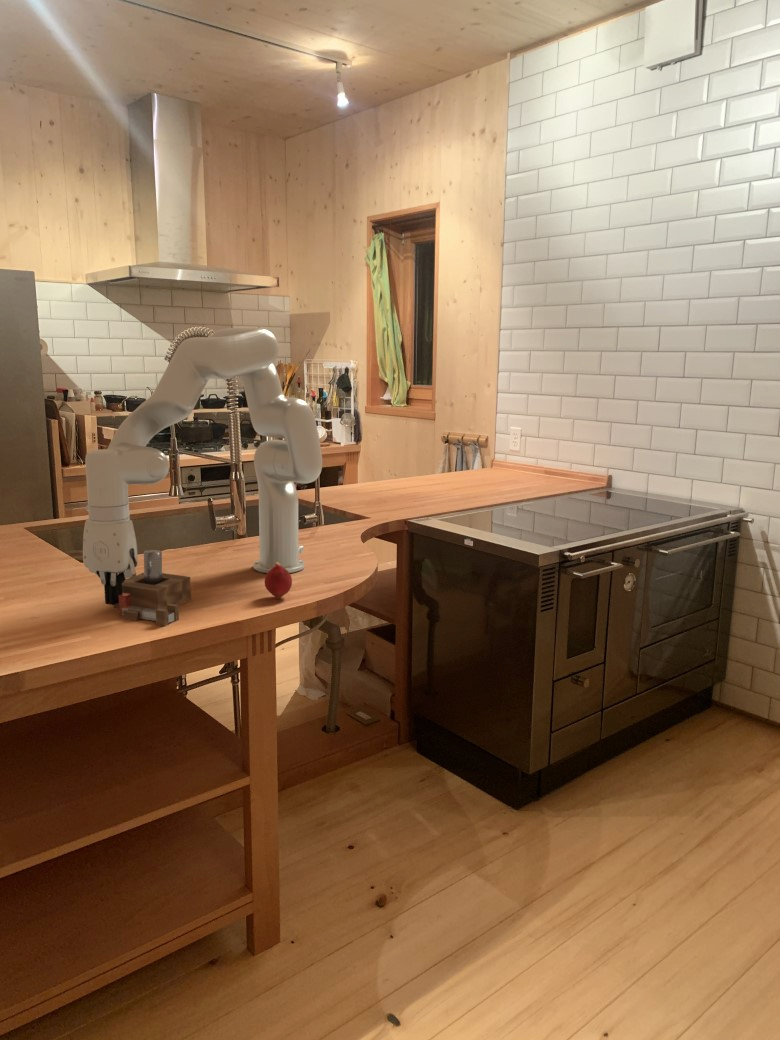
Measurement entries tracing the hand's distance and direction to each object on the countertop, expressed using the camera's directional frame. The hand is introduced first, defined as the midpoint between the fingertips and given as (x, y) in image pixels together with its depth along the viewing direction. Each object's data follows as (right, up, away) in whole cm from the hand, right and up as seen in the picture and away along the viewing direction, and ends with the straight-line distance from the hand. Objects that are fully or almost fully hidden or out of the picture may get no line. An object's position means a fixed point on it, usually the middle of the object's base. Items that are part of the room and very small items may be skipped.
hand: (114, 602), depth 154 cm
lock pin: (+7, -3, -2) cm, 8 cm away
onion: (+31, -1, +13) cm, 34 cm away
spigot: (+6, 0, +7) cm, 9 cm away
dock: (+7, -2, +4) cm, 8 cm away
